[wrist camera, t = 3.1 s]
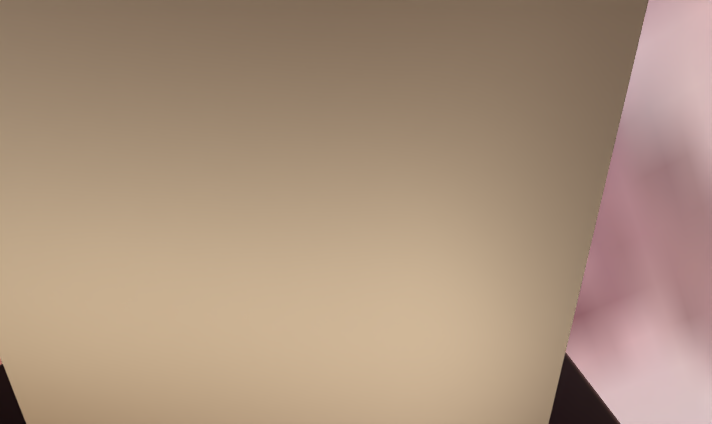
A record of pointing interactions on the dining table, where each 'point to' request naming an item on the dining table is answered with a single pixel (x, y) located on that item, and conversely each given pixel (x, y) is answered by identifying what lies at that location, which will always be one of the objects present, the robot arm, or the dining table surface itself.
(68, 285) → the beech clip
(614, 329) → the dining table surface
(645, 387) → the dining table surface
